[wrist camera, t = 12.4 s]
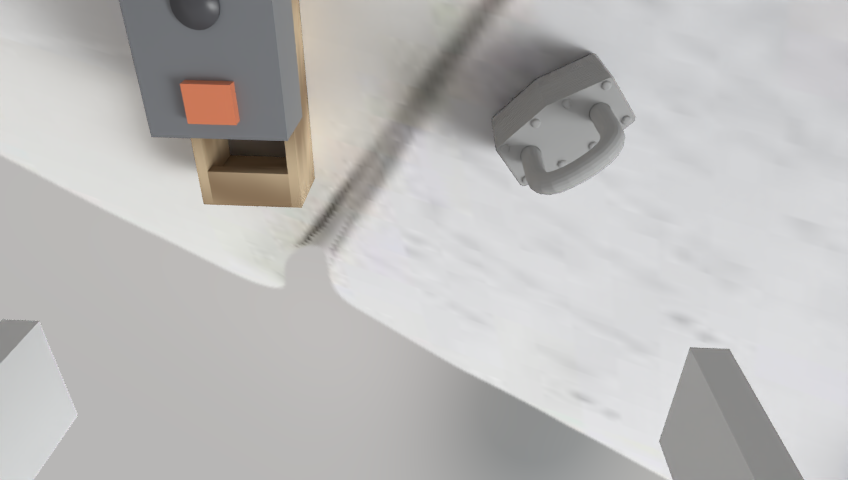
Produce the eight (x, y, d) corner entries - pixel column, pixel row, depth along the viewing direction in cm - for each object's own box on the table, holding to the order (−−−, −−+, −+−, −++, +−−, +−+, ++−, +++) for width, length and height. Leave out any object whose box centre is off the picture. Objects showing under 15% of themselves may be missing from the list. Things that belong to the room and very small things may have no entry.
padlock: (589, 42, 35) (632, 99, 26) (620, 98, 36) (671, 168, 28) (485, 110, 37) (494, 183, 29) (519, 160, 39) (537, 242, 30)
